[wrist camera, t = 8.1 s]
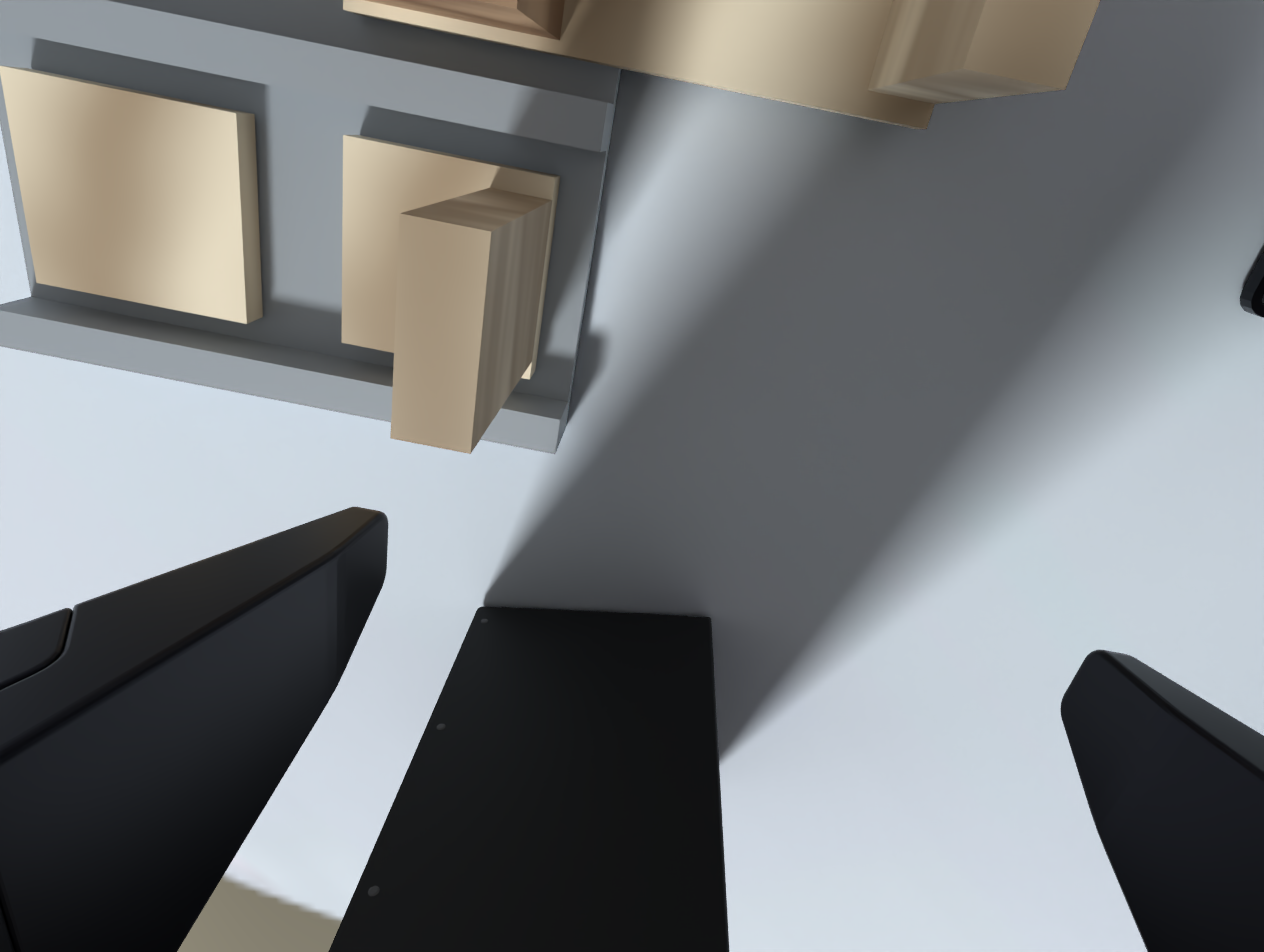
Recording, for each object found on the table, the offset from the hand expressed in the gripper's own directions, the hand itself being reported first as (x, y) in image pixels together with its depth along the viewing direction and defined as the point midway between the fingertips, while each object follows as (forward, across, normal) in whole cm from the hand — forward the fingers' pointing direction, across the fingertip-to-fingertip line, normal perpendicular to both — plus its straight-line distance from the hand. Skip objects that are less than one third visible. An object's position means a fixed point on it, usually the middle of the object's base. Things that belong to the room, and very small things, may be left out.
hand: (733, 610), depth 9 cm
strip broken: (+12, +11, -1) cm, 16 cm away
